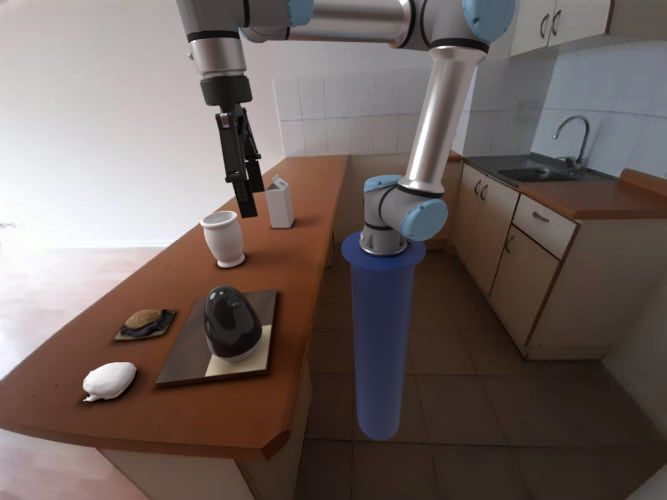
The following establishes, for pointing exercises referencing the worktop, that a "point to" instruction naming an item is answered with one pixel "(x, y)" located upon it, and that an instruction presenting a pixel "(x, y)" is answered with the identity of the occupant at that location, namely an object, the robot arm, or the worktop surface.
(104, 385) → the garlic
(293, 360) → the worktop surface
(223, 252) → the jar
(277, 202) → the milk carton
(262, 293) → the cutting board
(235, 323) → the black egg-shaped ornament
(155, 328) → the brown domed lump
